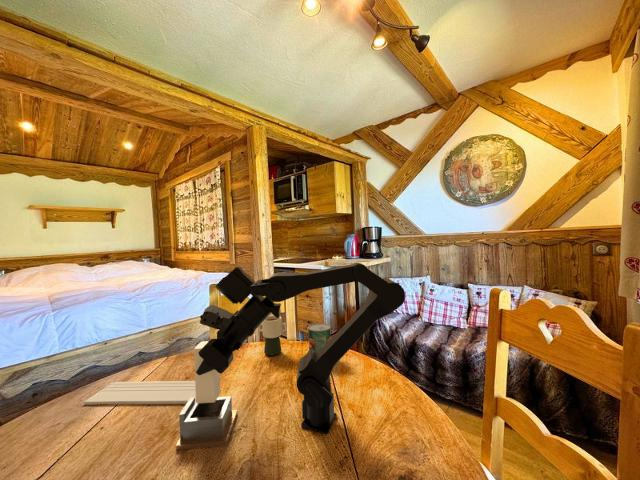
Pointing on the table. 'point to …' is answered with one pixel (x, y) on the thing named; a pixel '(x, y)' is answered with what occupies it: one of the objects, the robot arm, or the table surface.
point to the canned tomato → (319, 335)
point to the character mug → (272, 334)
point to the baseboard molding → (145, 393)
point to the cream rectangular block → (205, 380)
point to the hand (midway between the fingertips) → (201, 368)
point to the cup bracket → (206, 423)
